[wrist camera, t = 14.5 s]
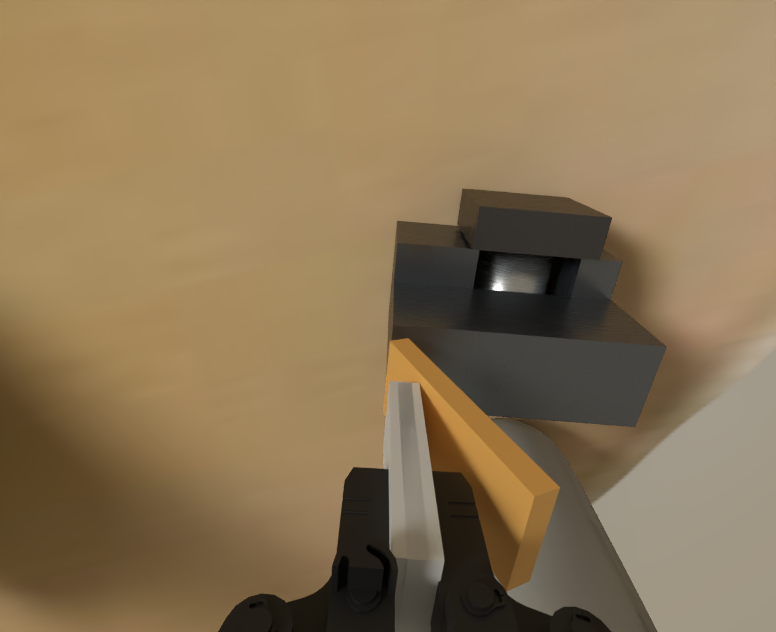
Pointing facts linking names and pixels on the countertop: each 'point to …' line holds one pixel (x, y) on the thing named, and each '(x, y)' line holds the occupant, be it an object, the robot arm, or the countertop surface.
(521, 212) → the lynch pin
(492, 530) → the plate
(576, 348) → the block
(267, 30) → the countertop surface
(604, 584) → the grey vase
